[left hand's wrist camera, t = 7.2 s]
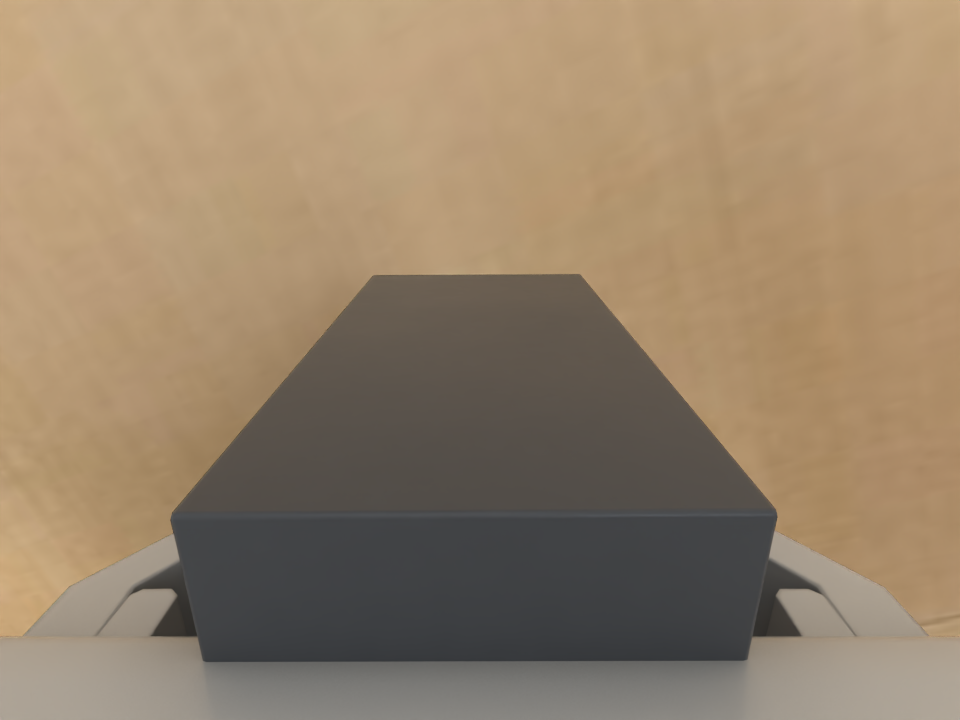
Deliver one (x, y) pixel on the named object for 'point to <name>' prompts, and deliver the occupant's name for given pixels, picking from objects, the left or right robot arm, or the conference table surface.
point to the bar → (475, 494)
